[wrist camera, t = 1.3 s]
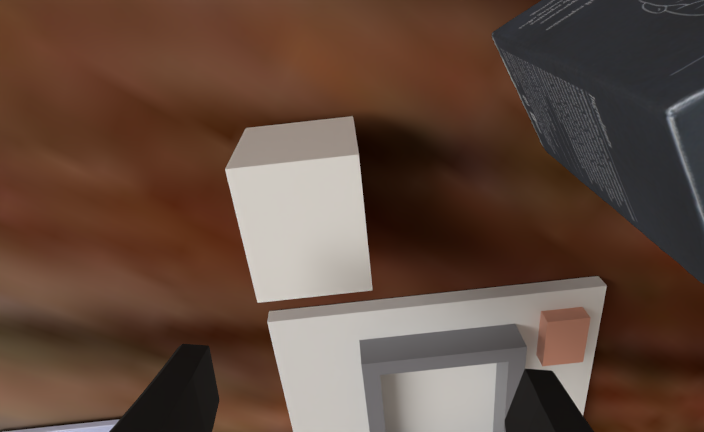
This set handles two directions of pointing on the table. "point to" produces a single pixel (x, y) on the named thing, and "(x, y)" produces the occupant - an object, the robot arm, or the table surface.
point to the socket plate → (434, 356)
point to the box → (621, 106)
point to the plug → (301, 209)
